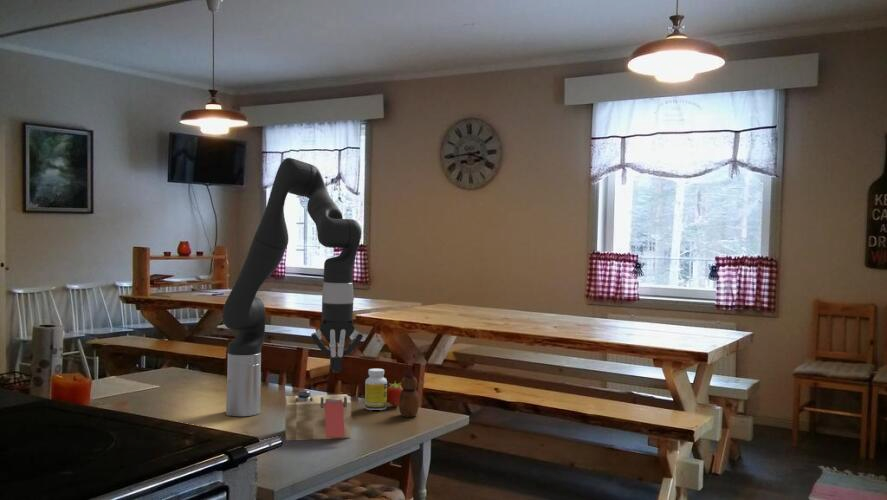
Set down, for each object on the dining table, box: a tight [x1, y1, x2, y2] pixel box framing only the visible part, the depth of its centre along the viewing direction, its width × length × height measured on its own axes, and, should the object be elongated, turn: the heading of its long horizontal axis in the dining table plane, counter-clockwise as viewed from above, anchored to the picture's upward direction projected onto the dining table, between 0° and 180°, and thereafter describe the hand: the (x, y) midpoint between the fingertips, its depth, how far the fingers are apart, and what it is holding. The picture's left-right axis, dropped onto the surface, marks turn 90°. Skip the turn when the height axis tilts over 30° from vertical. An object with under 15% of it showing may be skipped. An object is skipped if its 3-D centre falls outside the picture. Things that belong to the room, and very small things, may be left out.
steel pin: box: [297, 389, 311, 402], centre depth 195 cm, size 3×3×11 cm
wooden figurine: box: [398, 362, 420, 418], centre depth 218 cm, size 7×6×15 cm
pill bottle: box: [364, 368, 388, 411], centre depth 226 cm, size 6×6×12 cm
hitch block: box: [284, 393, 352, 441], centre depth 195 cm, size 16×12×11 cm
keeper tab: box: [325, 399, 344, 437], centre depth 189 cm, size 4×10×1 cm
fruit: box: [387, 381, 403, 408], centre depth 229 cm, size 5×5×8 cm
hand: (336, 371), depth 185 cm, fingers closed
